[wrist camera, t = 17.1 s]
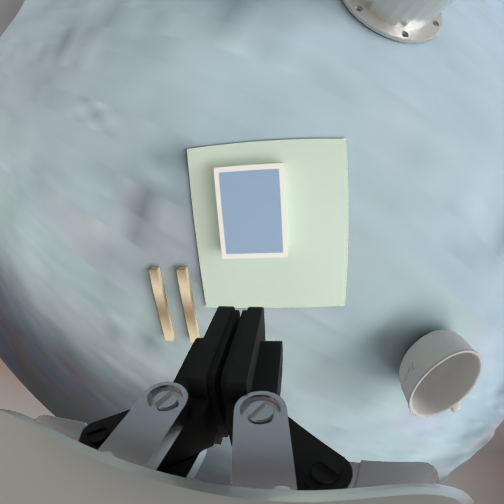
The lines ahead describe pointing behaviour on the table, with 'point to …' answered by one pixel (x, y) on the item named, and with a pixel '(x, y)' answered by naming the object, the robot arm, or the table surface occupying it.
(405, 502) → the robot arm
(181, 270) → the holder
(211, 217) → the mat
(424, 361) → the teacup
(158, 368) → the table surface
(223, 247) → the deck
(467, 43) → the table surface
